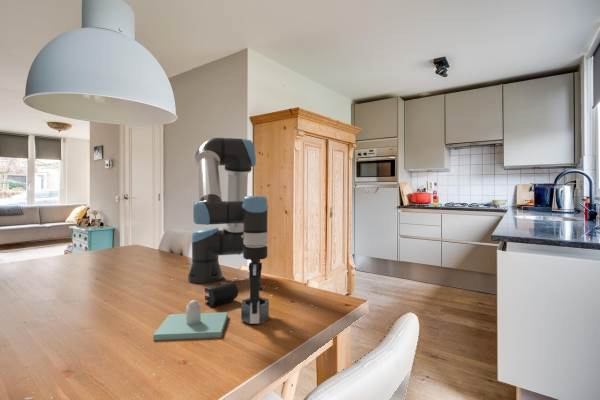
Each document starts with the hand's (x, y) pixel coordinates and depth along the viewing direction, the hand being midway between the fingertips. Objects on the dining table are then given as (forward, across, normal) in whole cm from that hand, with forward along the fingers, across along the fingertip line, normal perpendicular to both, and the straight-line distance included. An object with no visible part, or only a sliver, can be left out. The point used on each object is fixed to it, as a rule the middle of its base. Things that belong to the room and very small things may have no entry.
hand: (255, 316), depth 98 cm
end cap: (+1, -16, -13) cm, 21 cm away
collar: (0, 0, 0) cm, 0 cm away
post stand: (+1, +4, -18) cm, 19 cm away
